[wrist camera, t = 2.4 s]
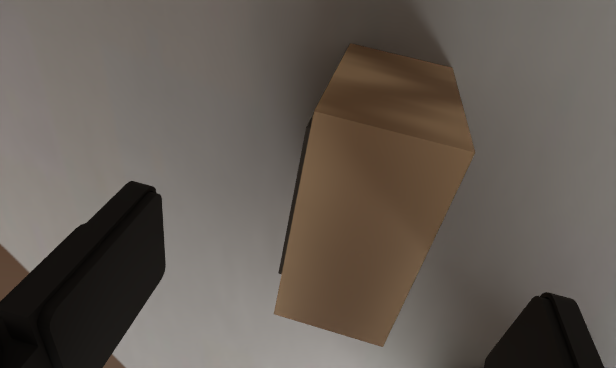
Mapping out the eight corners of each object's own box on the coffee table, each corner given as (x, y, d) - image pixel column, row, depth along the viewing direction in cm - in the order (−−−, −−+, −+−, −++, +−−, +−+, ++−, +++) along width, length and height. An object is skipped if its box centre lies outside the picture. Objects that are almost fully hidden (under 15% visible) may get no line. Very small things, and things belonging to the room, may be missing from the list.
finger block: (452, 67, 15) (475, 152, 10) (391, 225, 20) (382, 346, 14) (344, 41, 16) (304, 108, 10) (308, 201, 20) (267, 312, 15)
